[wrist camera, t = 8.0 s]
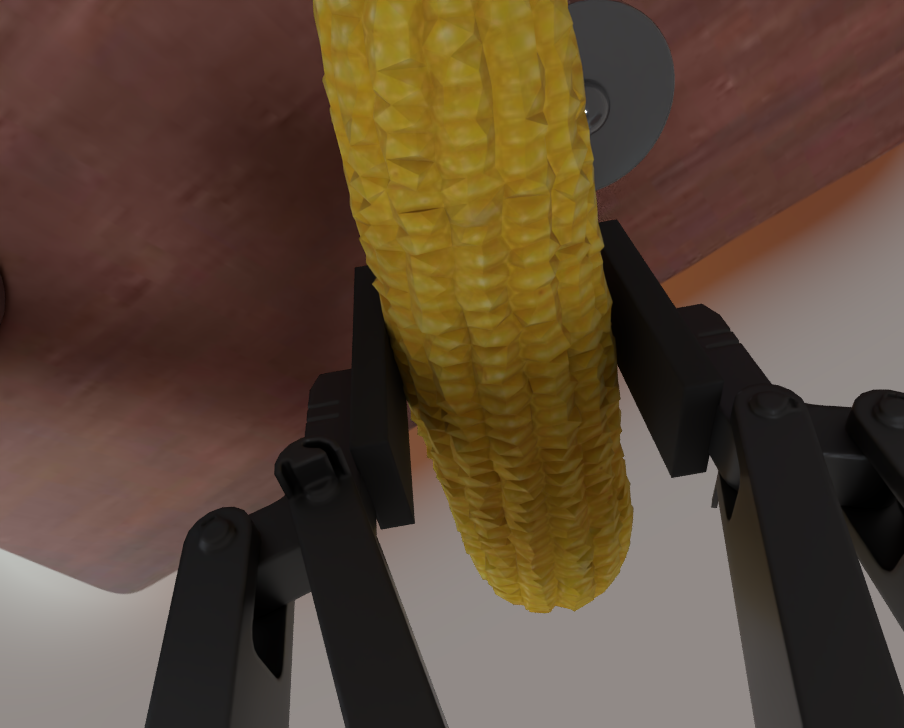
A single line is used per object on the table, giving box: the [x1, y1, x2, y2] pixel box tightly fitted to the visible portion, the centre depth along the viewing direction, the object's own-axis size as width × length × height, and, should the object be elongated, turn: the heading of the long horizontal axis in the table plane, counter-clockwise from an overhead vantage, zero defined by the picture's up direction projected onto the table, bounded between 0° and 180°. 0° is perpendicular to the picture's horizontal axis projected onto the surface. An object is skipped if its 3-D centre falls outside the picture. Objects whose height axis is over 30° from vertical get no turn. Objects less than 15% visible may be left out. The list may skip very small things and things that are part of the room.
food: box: [313, 0, 633, 613], centre depth 15 cm, size 21×6×6 cm, turn 14°
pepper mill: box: [567, 0, 675, 191], centre depth 25 cm, size 6×6×15 cm
